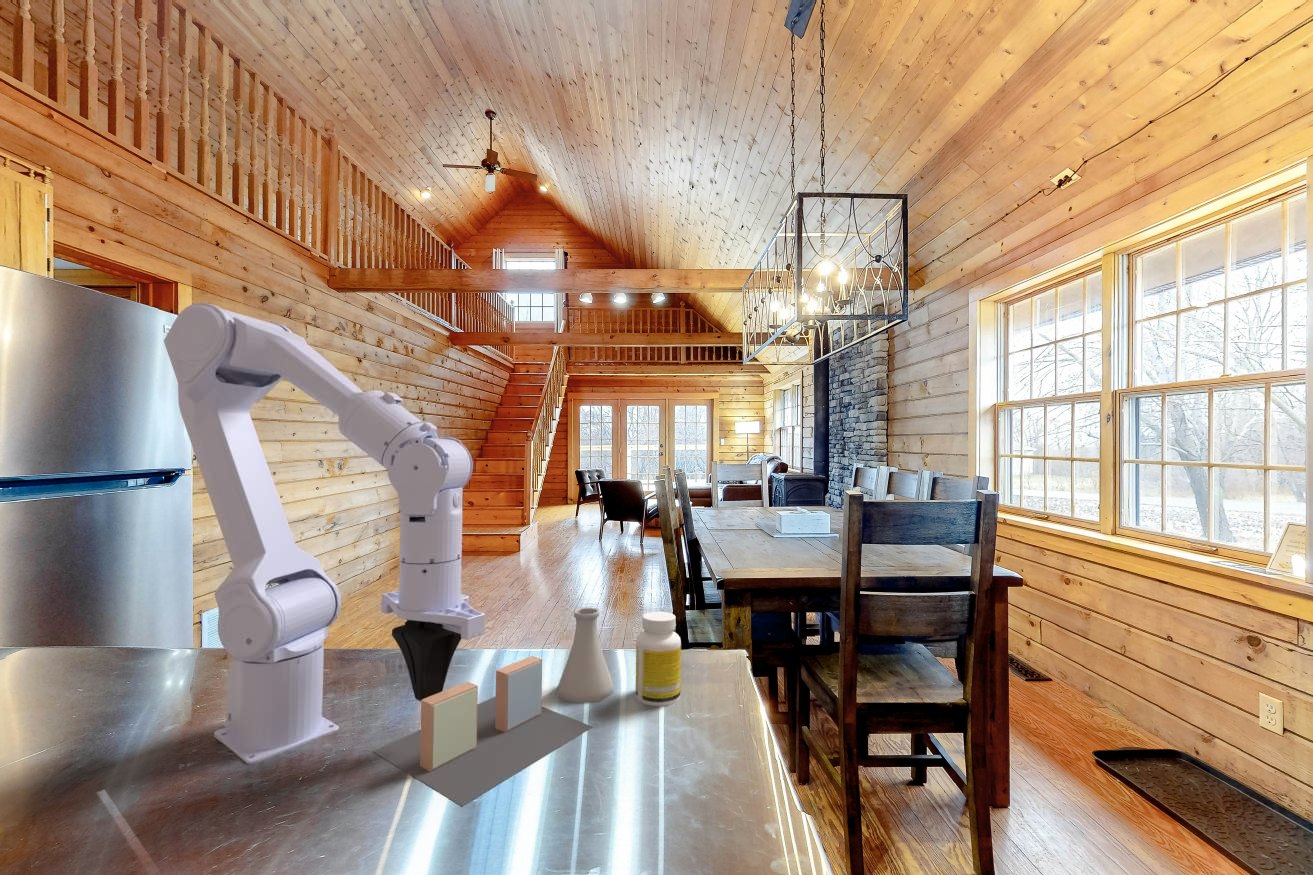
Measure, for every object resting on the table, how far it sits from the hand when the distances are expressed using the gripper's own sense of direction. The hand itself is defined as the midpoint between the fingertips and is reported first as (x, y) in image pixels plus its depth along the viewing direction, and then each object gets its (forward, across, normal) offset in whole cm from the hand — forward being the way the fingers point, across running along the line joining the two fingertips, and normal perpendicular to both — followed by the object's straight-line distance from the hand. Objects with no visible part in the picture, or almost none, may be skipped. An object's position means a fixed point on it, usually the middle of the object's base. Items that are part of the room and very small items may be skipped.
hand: (428, 696), depth 54 cm
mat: (+5, -4, -4) cm, 8 cm away
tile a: (+5, -4, 0) cm, 6 cm away
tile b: (+5, -4, -8) cm, 10 cm away
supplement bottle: (+5, -12, -22) cm, 26 cm away
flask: (+5, -4, -18) cm, 20 cm away
